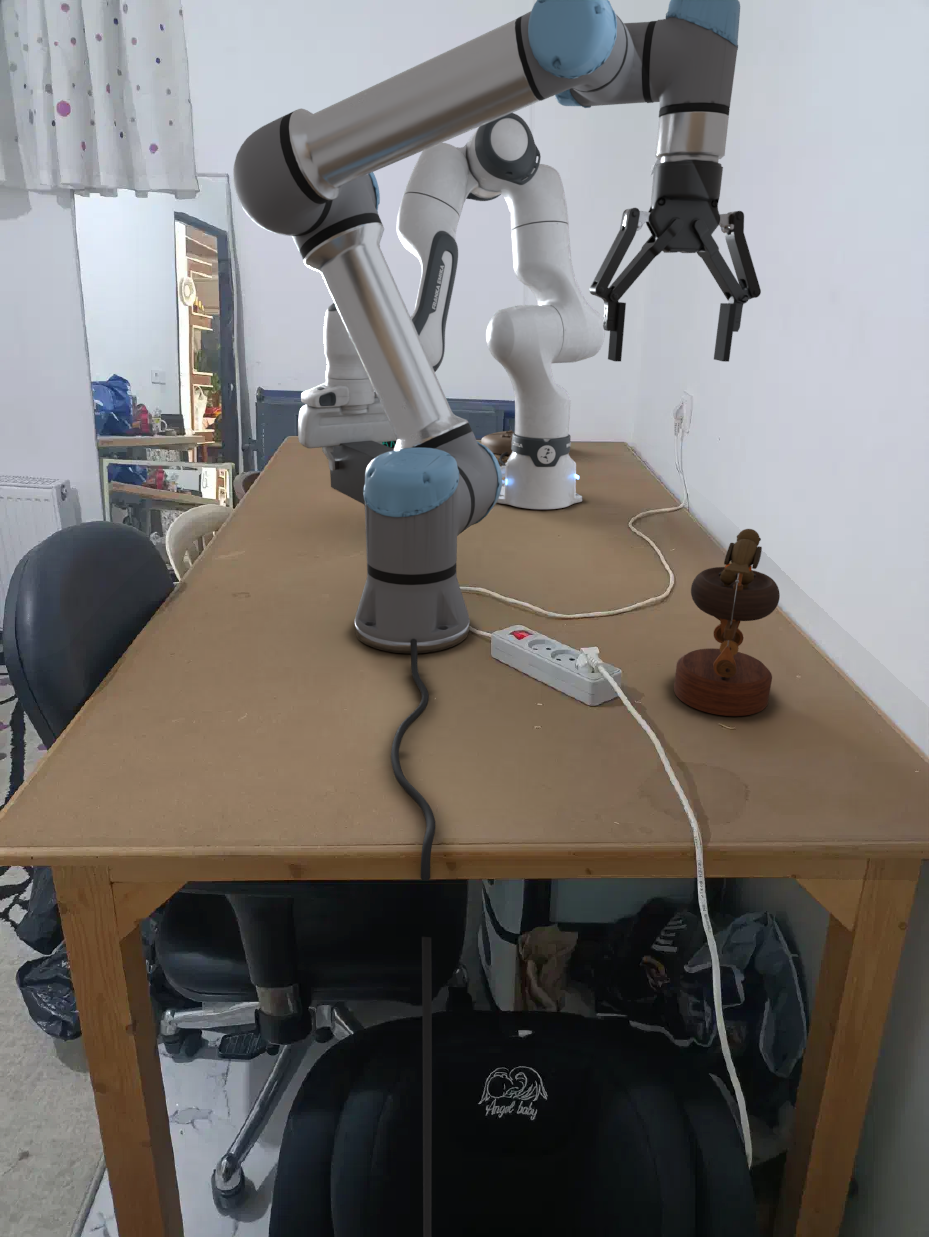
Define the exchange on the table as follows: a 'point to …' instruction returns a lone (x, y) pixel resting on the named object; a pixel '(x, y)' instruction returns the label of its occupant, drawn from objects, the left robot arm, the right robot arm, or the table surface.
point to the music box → (729, 635)
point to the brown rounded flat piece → (499, 442)
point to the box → (354, 466)
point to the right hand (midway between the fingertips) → (353, 467)
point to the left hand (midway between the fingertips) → (668, 360)
